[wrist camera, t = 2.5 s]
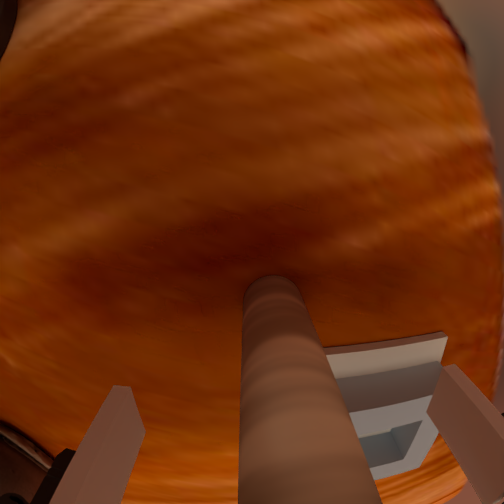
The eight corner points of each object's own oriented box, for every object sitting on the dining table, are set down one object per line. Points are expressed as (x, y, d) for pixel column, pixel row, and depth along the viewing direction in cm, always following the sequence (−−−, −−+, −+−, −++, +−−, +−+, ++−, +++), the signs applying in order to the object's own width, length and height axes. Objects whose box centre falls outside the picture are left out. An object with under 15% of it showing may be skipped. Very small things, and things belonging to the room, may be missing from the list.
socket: (312, 348, 22) (326, 390, 17) (442, 331, 22) (472, 360, 17) (298, 466, 26) (304, 502, 21) (400, 447, 26) (414, 477, 21)
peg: (242, 276, 20) (231, 512, 5) (301, 274, 20) (404, 487, 5) (244, 329, 21) (241, 554, 6) (300, 326, 21) (364, 538, 6)
